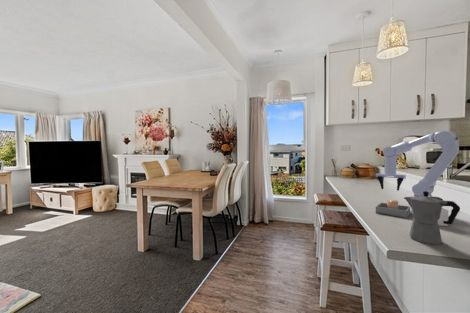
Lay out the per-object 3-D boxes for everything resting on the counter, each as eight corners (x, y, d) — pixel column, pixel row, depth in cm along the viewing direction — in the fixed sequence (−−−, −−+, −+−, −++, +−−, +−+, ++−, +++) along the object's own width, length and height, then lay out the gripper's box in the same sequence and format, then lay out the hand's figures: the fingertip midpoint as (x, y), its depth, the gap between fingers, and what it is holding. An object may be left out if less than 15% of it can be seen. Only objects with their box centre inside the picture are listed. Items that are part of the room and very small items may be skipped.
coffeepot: (399, 236, 82) (399, 190, 81) (407, 231, 87) (408, 187, 87) (456, 252, 69) (457, 197, 69) (462, 244, 74) (462, 193, 74)
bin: (410, 213, 113) (410, 206, 112) (406, 218, 104) (406, 211, 104) (380, 208, 122) (380, 202, 122) (375, 212, 113) (375, 206, 113)
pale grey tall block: (448, 226, 93) (449, 199, 93) (429, 225, 94) (429, 198, 94) (436, 221, 100) (437, 195, 100) (419, 220, 101) (419, 195, 101)
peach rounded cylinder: (398, 211, 113) (398, 200, 113) (397, 213, 110) (397, 202, 109) (388, 210, 116) (388, 199, 116) (386, 212, 113) (386, 201, 113)
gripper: (374, 166, 129) (374, 189, 130) (404, 168, 119) (404, 192, 119) (377, 166, 134) (377, 187, 134) (406, 167, 124) (406, 190, 124)
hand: (390, 189), depth 127 cm, fingers open, 7 cm apart
